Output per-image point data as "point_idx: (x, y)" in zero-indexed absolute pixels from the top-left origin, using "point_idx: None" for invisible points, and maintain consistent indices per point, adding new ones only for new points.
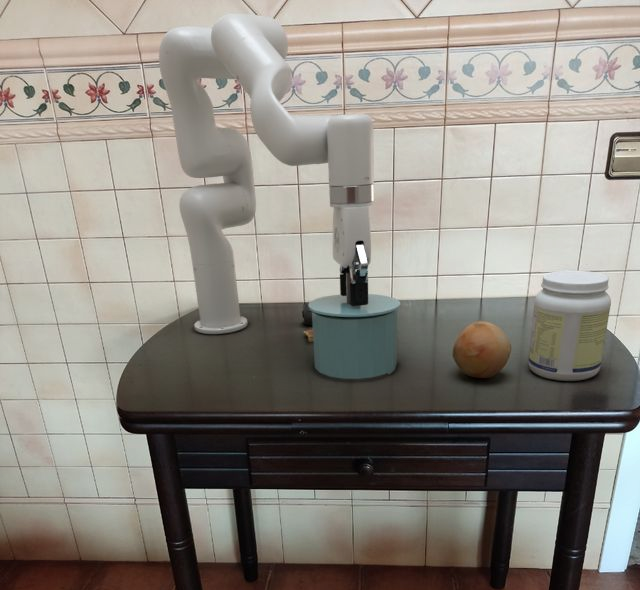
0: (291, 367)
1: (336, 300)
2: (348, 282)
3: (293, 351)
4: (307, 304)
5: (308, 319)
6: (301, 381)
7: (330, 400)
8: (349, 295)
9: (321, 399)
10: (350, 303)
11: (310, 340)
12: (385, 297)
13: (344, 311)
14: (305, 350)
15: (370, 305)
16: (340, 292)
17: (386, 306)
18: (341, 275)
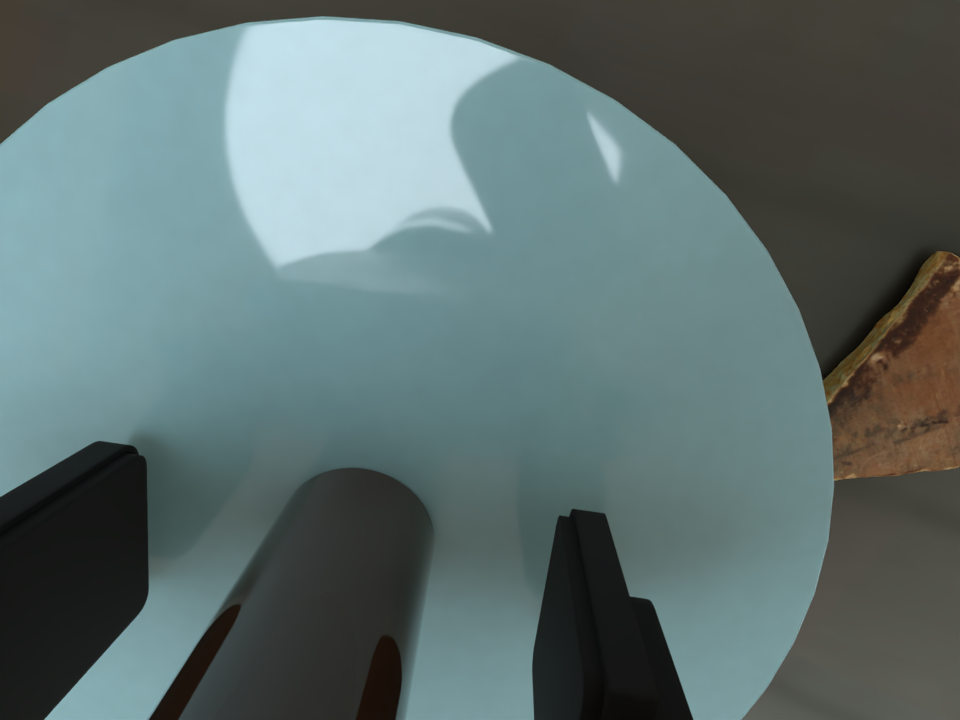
0: (583, 20)
1: (560, 427)
2: (221, 634)
3: (853, 118)
4: None
5: None
6: (344, 12)
7: (52, 80)
8: (276, 528)
9: (74, 40)
10: (102, 446)
11: (928, 263)
12: None
13: (21, 324)
14: (825, 196)
15: (204, 624)
16: (600, 523)
17: (121, 716)
18: (607, 698)
